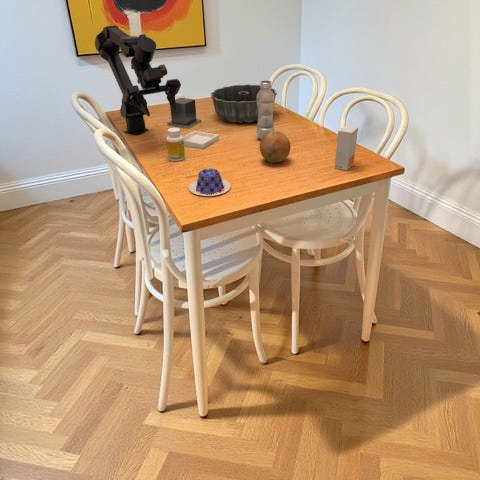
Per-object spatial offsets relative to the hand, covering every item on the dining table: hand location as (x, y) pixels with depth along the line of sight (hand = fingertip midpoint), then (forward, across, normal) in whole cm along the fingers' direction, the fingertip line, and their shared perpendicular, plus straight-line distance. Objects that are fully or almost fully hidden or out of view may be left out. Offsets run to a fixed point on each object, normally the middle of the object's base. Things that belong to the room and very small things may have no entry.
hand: (162, 113), depth 149 cm
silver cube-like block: (-7, +19, +26) cm, 33 cm away
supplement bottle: (+15, 0, +4) cm, 15 cm away
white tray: (+8, +13, +10) cm, 19 cm away
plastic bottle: (+17, +34, +2) cm, 38 cm away
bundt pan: (-2, +43, +21) cm, 48 cm away
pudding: (+33, -2, -14) cm, 36 cm away
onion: (+30, +24, -11) cm, 40 cm away
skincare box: (+41, +39, -22) cm, 61 cm away
